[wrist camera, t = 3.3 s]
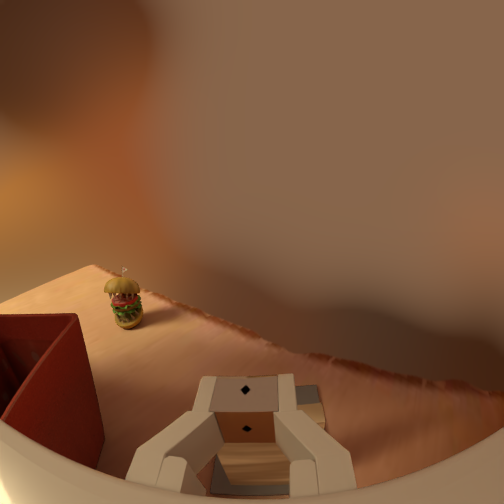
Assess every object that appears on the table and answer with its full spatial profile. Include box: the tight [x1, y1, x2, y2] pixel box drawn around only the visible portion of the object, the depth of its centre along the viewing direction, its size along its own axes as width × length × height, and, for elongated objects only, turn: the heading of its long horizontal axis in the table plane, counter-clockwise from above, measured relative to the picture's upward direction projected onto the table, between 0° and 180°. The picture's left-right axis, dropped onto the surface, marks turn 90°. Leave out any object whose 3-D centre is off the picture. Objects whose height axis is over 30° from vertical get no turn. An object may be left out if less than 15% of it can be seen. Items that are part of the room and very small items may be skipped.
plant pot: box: [0, 313, 105, 469], centre depth 16 cm, size 19×19×17 cm
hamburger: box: [104, 267, 143, 329], centre depth 50 cm, size 8×7×12 cm
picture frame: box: [217, 403, 325, 485], centre depth 18 cm, size 2×8×12 cm, turn 87°
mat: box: [210, 385, 320, 496], centre depth 25 cm, size 16×12×1 cm
